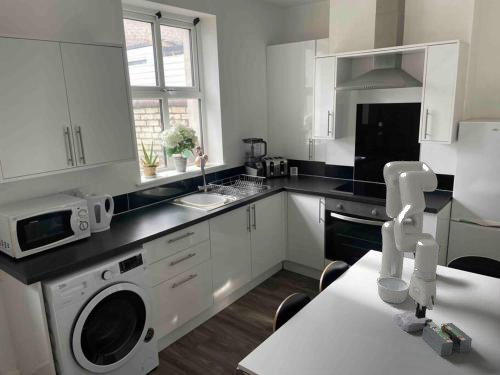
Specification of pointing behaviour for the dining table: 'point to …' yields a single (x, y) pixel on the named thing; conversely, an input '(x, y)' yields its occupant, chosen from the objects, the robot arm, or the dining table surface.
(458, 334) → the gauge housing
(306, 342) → the dining table surface
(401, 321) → the stone block
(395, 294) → the ramekin
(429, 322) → the bar with dark endcap
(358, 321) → the dining table surface
